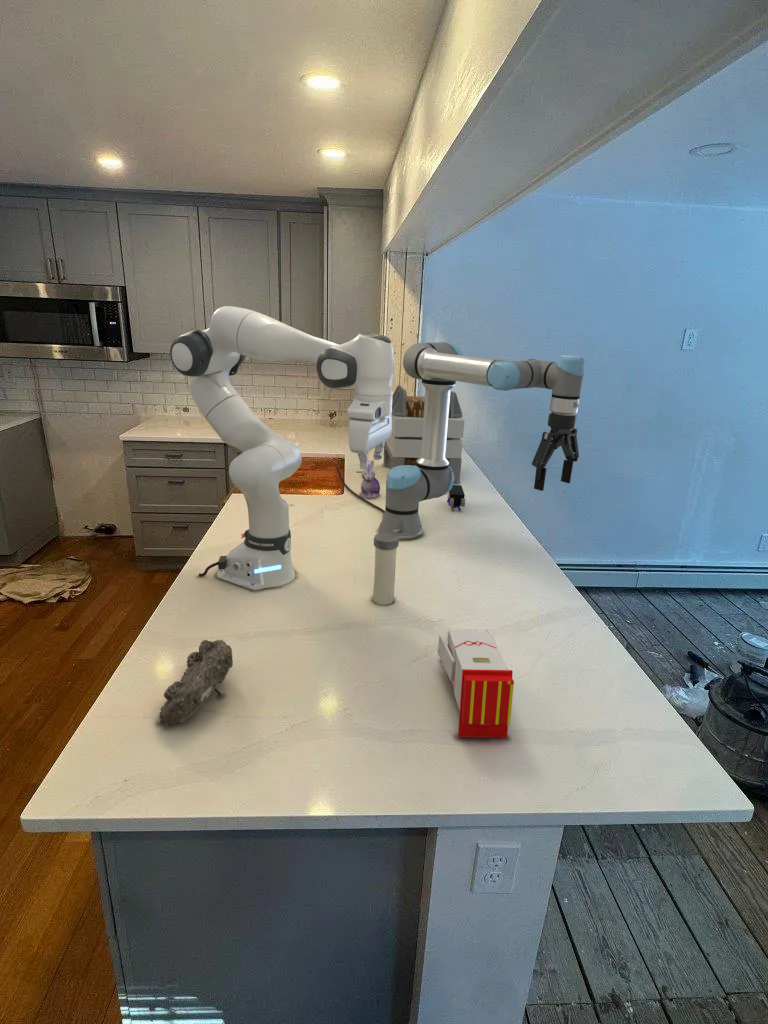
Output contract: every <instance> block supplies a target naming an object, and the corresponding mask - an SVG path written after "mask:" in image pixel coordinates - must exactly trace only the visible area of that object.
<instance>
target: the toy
mask: <svg viewBox="0 0 768 1024" xmlns="http://www.w3.org/2000/svg"><path fill="white" fill-rule="evenodd" d="M446 640H447V643H446V641H445V639H444V636H443V635H442V634H439V637H438V646H437V656H438V657H439V659H440V661H441V663H442V666H443V668H444V670H445V672H446V674H447V677H448V679H449V681H450V684H451V687H452V690H453V693H454V697H455V701H456V705H457V708H458V711H459V714H458V715H459V716H458V730H457V731H458V732H457V737H458V738H508V731H509V726H510V725H511V717H512V707H513V697H514V696H513V695H514V684H515V680H514V679H513V673H514V671H513V670H512V669H508V667H507V665H506V662H505V661H504V659H503V658H502V655H501V653H500V651H499V649H498V647H497V643H496V639H495V637H494V635H493V634H491V632H490V631H489V629H467V628H466V629H465V628H463V629H461V628H460V629H459V628H448V630H447V639H446Z"/></svg>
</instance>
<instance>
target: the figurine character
mask: <svg viewBox="0 0 768 1024" xmlns="http://www.w3.org/2000/svg"><path fill="white" fill-rule="evenodd" d="M446 495H447V496H446V497H447V500H446V503H447V504H448V506H449V508H450V509H451V511H454V509H458V511H461V510H462V509H461V508H465V505H466V497H465V496H466V494H465V492H464V488H463V486H462V485H461V484H453V487H452V489H451V490H450V491H449V492H448V493H447V494H446Z"/></svg>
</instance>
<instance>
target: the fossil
mask: <svg viewBox="0 0 768 1024" xmlns="http://www.w3.org/2000/svg"><path fill="white" fill-rule="evenodd" d="M233 658H234V656H233V650H232V647H231V645H229V644H227V643H226V641H224V640H223V639H216V640H213V641H212V640H208V639H203V640H202V641H201V642H200V645H198V651H193V652H191V653H189V655H188V656H187V658H186V659H187V660H186V667H187V668H186V669H185V671H184V672H183V674H182V675H181V678H180V680H176V681H174V682H173V683H172V684H171V685H169V686H168V687H167V688H166V690H165V692H164V693H163V697H164V698H165V699H166V701H165V703H164V705H162V706H160V709H159V710H160V712H159V713H158V714H159V716H158V717H159V719H160V723H164V724H165V725H166V726H167V725H168V726H170V725H171V726H172V725H174V724H175V725H176V724H179V723H180V724H183V723H184V722H185V721H186V720H187V719H188V718H189V717H190V716H191V715H193V714H194V713H195V712H196V711H197V710H198V709H199V708H200V707H201V706H203V705H204V704H205V703H206V702H207V700H208V698H209V697H210V696H211V694H213V693H214V692H215V693H216V694H217V695H218V696H222V693H221V691H220V690H219V689H218V688H217V687H218V685H219V684H222V683H223V681H224V680H226V676H227V675H228V673H229V671H230V669H231V668H232V667H233V665H234V660H233Z"/></svg>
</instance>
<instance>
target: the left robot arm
mask: <svg viewBox="0 0 768 1024" xmlns="http://www.w3.org/2000/svg"><path fill="white" fill-rule="evenodd" d="M169 358H170V362H171V363H172V366H173V367H174V368H175V370H176V371H177V372H178V373H179V374H181V375H183V376H186V377H192V379H191V380H190V381H189V384H188V391H189V394H190V396H191V398H192V400H193V401H194V404H195V406H196V407H197V408H198V410H199V411H200V413H201V415H202V416H203V417H204V419H205V420H206V422H208V424H209V425H210V427H211V428H212V429H213V430H214V432H215V433H216V434H217V436H218V437H219V438H220V439H221V441H222V442H223V443H225V444H226V445H228V446H231V447H233V448H236V449H238V450H239V451H241V453H240V454H238V455H237V456H236V457H235V458H234V459H233V460H232V461H231V462H230V464H229V467H228V475H229V478H230V481H231V483H232V484H233V486H234V487H235V488H236V489H237V490H239V491H240V492H241V493H242V495H243V498H244V499H245V502H246V506H247V514H248V517H247V518H248V529H246V530H245V531H244V532H242V533H241V535H240V536H241V537H240V539H244V540H243V541H242V542H241V543H240V544H238V545H236V547H234V548H232V549H231V550H230V551H229V552H228V553H227V554H226V555H220V556H219V558H218V561H216V562H214V563H212V564H209V565H208V566H207V567H206V568H205V570H204V571H203V572H202V573H198V577H202V578H203V577H205V576H206V575H207V573H208V572H209V570H210V569H212V568H214V567H217V572H216V578H218V579H220V580H223V581H226V582H229V583H232V584H234V585H238V586H240V587H243V588H246V589H249V590H251V591H259V590H263V589H268V588H277V587H282V586H285V585H287V584H289V583H291V582H292V581H294V580H295V578H296V571H295V569H294V566H293V560H292V555H291V554H292V553H291V550H292V549H291V548H292V531H291V529H290V506H289V504H288V502H287V501H286V500H285V499H284V498H282V496H281V492H280V488H279V487H280V482H283V481H284V480H286V479H288V478H290V477H291V476H293V475H294V474H295V473H296V472H297V471H298V469H299V468H300V467H301V465H302V463H303V453H302V452H301V449H300V447H299V446H298V445H297V444H296V443H295V442H293V441H292V440H289V439H286V438H284V437H282V436H280V435H279V434H278V433H276V432H275V431H274V430H272V429H271V428H270V427H269V426H267V425H266V424H265V423H264V422H263V421H261V420H260V419H259V418H258V416H257V415H256V414H255V413H254V411H252V409H251V408H250V407H249V405H247V403H246V402H245V401H244V400H243V397H241V395H240V393H238V391H237V390H236V389H235V388H234V387H233V385H232V384H231V381H230V378H229V377H230V376H235V375H236V374H237V373H238V371H239V368H240V366H241V365H242V364H243V363H244V361H245V359H246V358H248V359H252V360H256V361H262V362H268V363H269V362H271V363H273V362H283V361H306V362H311V363H314V364H316V373H317V377H318V379H319V380H320V382H321V383H322V384H323V385H324V386H325V387H326V388H329V389H334V390H335V389H336V390H342V389H347V388H353V390H354V397H353V400H352V402H351V404H350V405H349V407H348V408H347V410H346V415H347V418H348V419H349V421H348V446H349V450H350V452H351V453H354V454H357V457H358V461H359V468H360V469H361V470H364V469H367V468H368V467H369V464H370V460H369V457H368V456H369V452H370V451H372V450H373V449H374V452H373V460H374V461H375V460H376V461H380V460H381V459H382V458H383V453H384V445H385V442H386V440H387V439H389V438H390V437H391V434H392V397H393V394H394V392H393V388H392V382H393V379H394V374H395V372H394V371H395V365H394V364H395V363H394V362H395V359H394V358H395V356H394V346H393V343H392V341H391V339H390V338H389V337H387V336H386V335H383V334H380V333H377V332H369V331H362V332H359V334H357V336H355V337H354V338H351V339H350V340H349V341H346V342H344V343H338V342H335V341H331V340H328V339H325V338H321V337H318V336H315V335H312V334H309V333H306V332H304V331H301V330H300V329H297V328H294V327H292V326H290V325H288V324H285V323H283V322H282V321H279V320H278V319H275V318H273V317H271V316H268V315H266V314H264V313H261V312H259V311H255V310H251V309H249V308H244V307H240V306H234V305H233V306H232V305H231V306H230V305H224V306H221V307H219V308H217V309H216V310H215V311H214V312H213V314H212V316H211V318H210V323H209V327H208V328H206V329H202V330H201V329H199V328H198V329H194V330H192V331H188V332H185V333H183V334H181V335H179V336H177V337H175V339H173V341H171V344H170V347H169Z"/></svg>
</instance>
